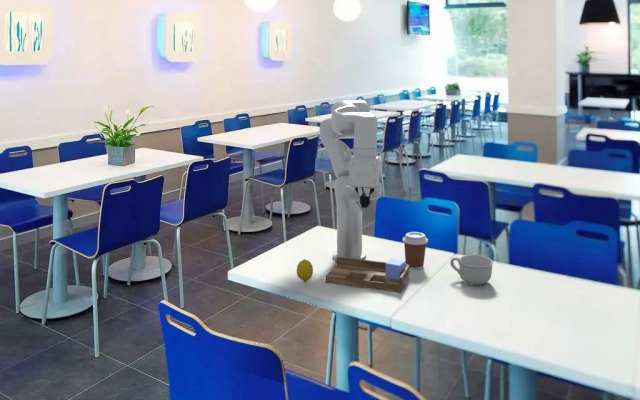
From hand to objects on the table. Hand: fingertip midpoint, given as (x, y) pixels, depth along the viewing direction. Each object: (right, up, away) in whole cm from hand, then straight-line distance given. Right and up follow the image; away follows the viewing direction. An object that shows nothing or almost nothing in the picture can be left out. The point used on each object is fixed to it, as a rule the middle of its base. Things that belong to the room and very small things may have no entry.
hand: (364, 206), depth 189 cm
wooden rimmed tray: (+1, -25, +3) cm, 25 cm away
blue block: (+10, -23, 0) cm, 25 cm away
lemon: (-20, -26, +2) cm, 33 cm away
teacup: (+36, -25, +1) cm, 44 cm away
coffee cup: (+19, -22, +16) cm, 33 cm away
